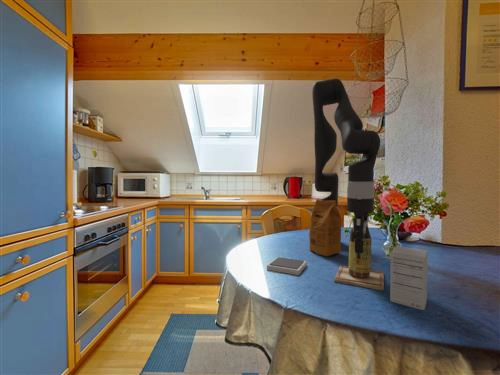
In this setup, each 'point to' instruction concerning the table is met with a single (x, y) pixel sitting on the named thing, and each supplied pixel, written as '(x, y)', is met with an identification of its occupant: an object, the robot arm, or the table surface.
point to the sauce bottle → (357, 261)
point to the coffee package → (325, 228)
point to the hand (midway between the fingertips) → (359, 249)
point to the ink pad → (287, 265)
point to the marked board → (360, 279)
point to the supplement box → (409, 277)
